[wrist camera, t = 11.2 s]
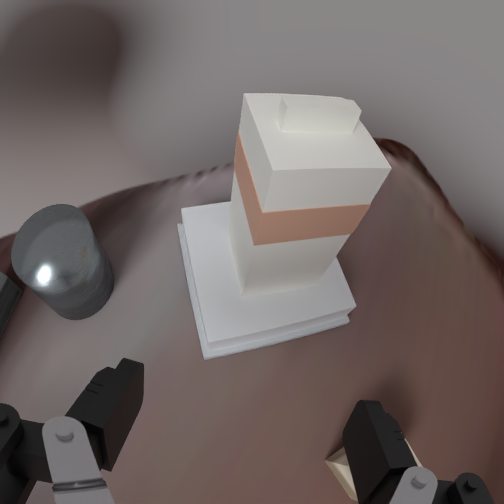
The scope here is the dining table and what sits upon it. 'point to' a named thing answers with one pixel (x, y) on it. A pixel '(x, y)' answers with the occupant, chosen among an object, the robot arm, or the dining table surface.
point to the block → (348, 470)
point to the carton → (298, 188)
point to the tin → (63, 261)
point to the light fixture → (7, 299)
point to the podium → (255, 307)
